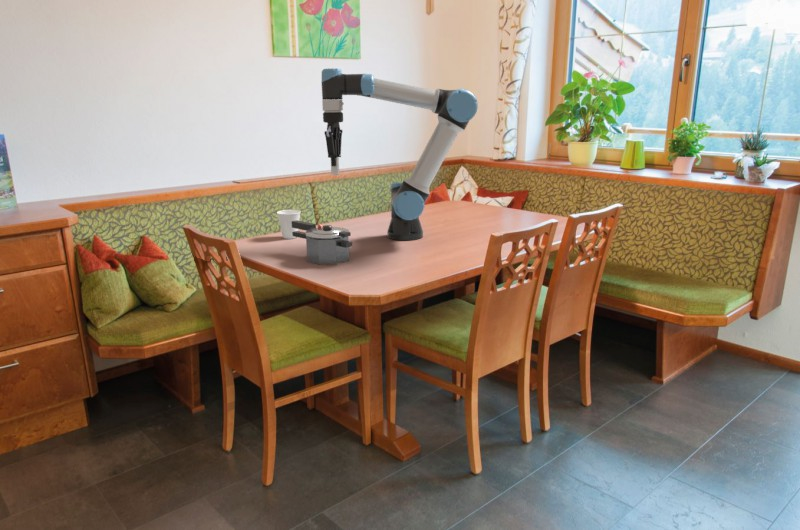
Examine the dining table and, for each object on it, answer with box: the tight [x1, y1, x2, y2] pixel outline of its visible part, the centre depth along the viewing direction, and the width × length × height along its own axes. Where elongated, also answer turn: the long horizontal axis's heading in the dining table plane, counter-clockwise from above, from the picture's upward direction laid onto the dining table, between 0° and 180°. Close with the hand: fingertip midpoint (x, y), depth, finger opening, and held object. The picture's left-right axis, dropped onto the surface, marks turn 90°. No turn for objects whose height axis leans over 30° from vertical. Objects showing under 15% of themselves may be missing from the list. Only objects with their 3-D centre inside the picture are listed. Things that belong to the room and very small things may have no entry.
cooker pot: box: [292, 230, 353, 266], centre depth 223 cm, size 29×15×9 cm, turn 50°
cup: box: [276, 209, 302, 240], centre depth 255 cm, size 10×10×11 cm
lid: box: [292, 220, 351, 239], centre depth 222 cm, size 29×16×3 cm, turn 48°
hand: (335, 174), depth 234 cm, fingers closed
